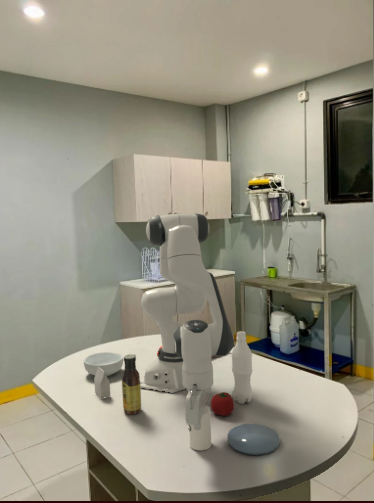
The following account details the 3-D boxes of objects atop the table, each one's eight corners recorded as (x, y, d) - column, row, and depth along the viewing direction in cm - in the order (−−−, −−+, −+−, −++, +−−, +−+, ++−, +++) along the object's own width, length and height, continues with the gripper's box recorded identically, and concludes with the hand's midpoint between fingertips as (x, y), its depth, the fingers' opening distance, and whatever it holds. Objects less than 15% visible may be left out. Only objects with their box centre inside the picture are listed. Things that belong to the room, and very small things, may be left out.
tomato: (233, 419, 132) (233, 398, 131) (209, 418, 133) (208, 397, 132) (235, 408, 139) (234, 388, 139) (212, 407, 141) (211, 387, 140)
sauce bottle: (124, 407, 143) (121, 353, 141) (141, 406, 143) (139, 351, 142) (122, 416, 136) (119, 359, 135) (141, 415, 137) (138, 358, 135)
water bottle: (254, 397, 147) (253, 330, 145) (251, 406, 140) (249, 336, 138) (235, 395, 149) (233, 329, 147) (230, 404, 142) (228, 334, 140)
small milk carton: (101, 399, 150) (99, 373, 149) (95, 393, 156) (93, 368, 155) (110, 396, 152) (109, 371, 151) (104, 390, 158) (102, 365, 157)
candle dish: (224, 454, 113) (224, 449, 112) (230, 426, 127) (230, 422, 127) (279, 459, 109) (279, 453, 109) (279, 430, 124) (279, 425, 124)
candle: (185, 441, 120) (183, 392, 118) (205, 436, 122) (204, 388, 121) (194, 452, 114) (192, 401, 112) (215, 447, 116) (213, 396, 115)
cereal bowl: (111, 383, 164) (110, 366, 164) (76, 379, 170) (75, 363, 169) (130, 368, 180) (129, 352, 180) (98, 365, 186) (97, 350, 185)
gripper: (202, 394, 105) (204, 445, 106) (213, 365, 125) (215, 408, 126) (178, 393, 106) (180, 443, 108) (193, 364, 126) (195, 406, 128)
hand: (199, 423), depth 117 cm, fingers closed on candle, 4 cm apart
